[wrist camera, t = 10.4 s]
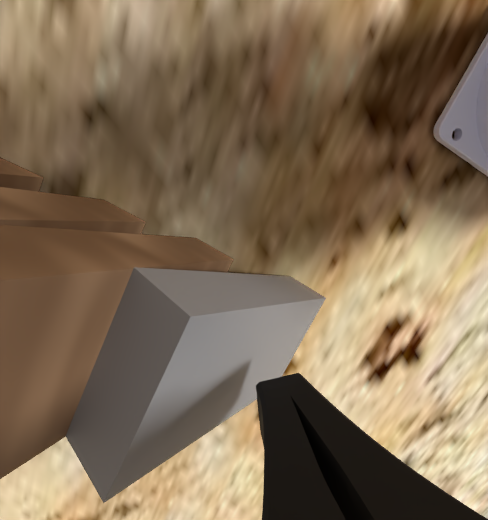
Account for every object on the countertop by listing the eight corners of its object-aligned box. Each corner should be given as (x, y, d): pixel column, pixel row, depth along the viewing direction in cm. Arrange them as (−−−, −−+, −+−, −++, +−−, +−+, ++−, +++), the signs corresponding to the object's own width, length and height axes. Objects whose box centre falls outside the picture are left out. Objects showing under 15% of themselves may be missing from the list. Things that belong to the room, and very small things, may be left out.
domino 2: (233, 259, 12) (-34, 283, 4) (186, 357, 13) (-110, 549, 5) (196, 237, 13) (-108, 217, 4) (153, 333, 14) (-162, 466, 5)
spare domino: (325, 297, 13) (190, 316, 6) (276, 386, 14) (103, 502, 7) (290, 276, 14) (133, 267, 7) (245, 359, 15) (65, 435, 8)
